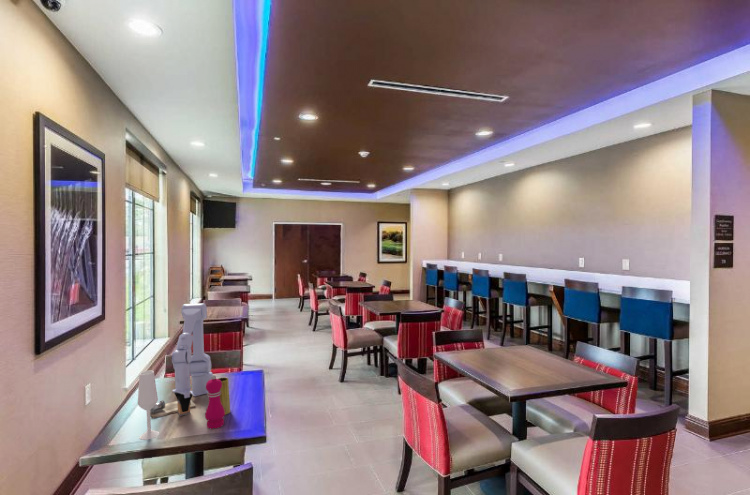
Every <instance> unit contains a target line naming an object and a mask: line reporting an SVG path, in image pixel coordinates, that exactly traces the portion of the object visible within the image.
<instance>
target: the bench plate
mask: <svg viewBox="0 0 750 495" xmlns="http://www.w3.org/2000/svg"><path fill="white" fill-rule="evenodd" d="M194 408H196V404H195V403H194V402H193V401H192V400H191V403H190V410H191V409H194ZM175 413H178V405H177V400H175V401H171V402H168V403H165V409H163V412H160V413H157V414H152V413H150V418H151V419H155V418H158V417H159V418H160V417H164V416H167V415H171V414H175Z"/></svg>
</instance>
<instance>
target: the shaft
mask: <svg viewBox="0 0 750 495" xmlns="http://www.w3.org/2000/svg"><path fill="white" fill-rule="evenodd" d="M165 404H166V403H165V401H164V400H159V402H157V403H156V405H155V406H154V407H153V408H152V409H151V410H150V413H152V414H157V413H160V412H163V409H165Z"/></svg>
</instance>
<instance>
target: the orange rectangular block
mask: <svg viewBox="0 0 750 495" xmlns="http://www.w3.org/2000/svg"><path fill="white" fill-rule="evenodd" d="M176 401H177V405H178V412H177V414H178V416H179V417H182V416H186V415H190V414H191V409H190V403H189V409H188V411H186V412H182V409H181V404H180V401H179V399H177V398H176Z"/></svg>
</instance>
